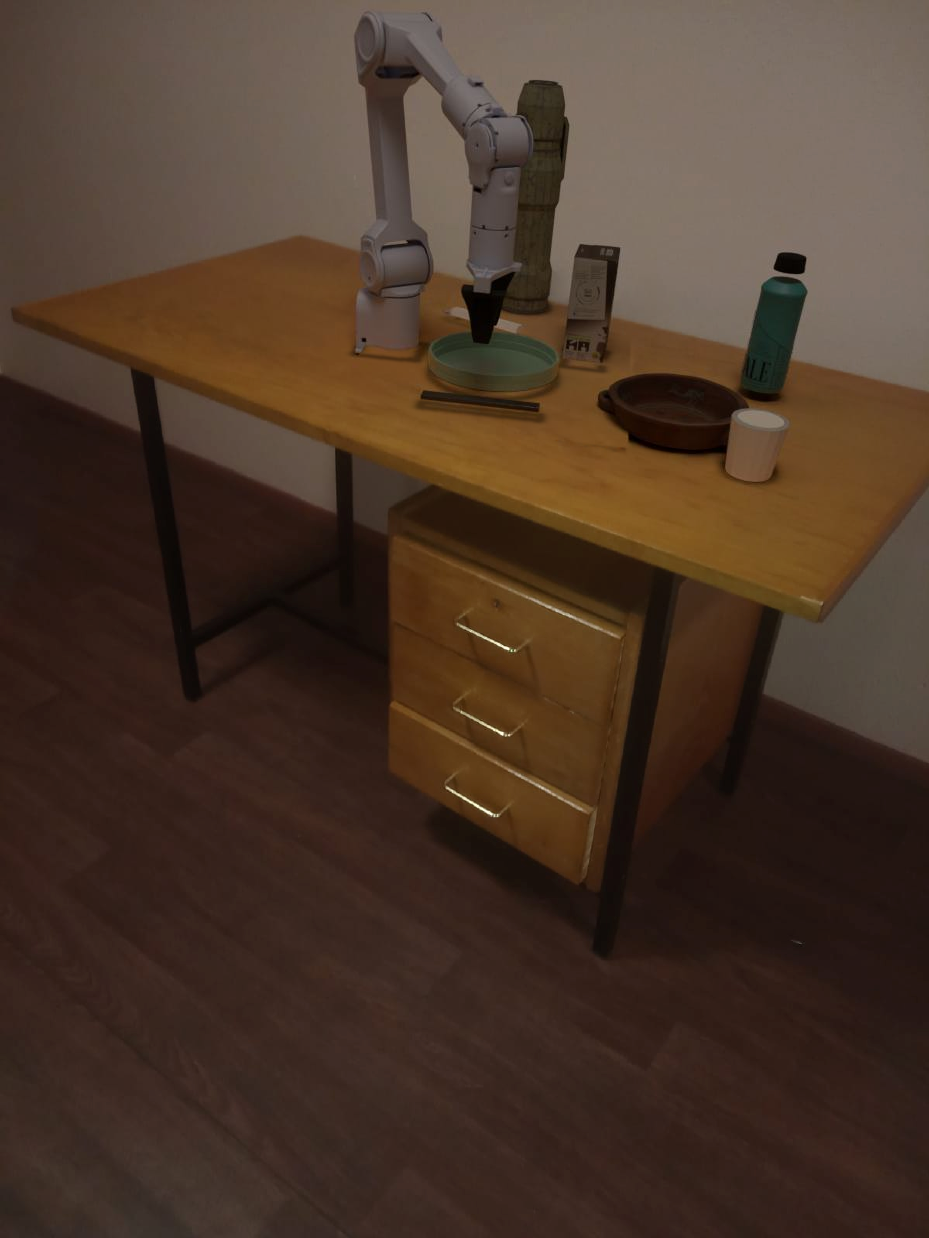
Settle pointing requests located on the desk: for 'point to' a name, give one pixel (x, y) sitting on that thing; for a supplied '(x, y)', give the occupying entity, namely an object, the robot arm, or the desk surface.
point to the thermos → (538, 195)
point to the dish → (673, 409)
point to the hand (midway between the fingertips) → (485, 333)
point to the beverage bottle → (775, 327)
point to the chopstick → (480, 401)
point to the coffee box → (591, 302)
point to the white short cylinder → (755, 443)
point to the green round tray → (493, 362)
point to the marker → (501, 325)
